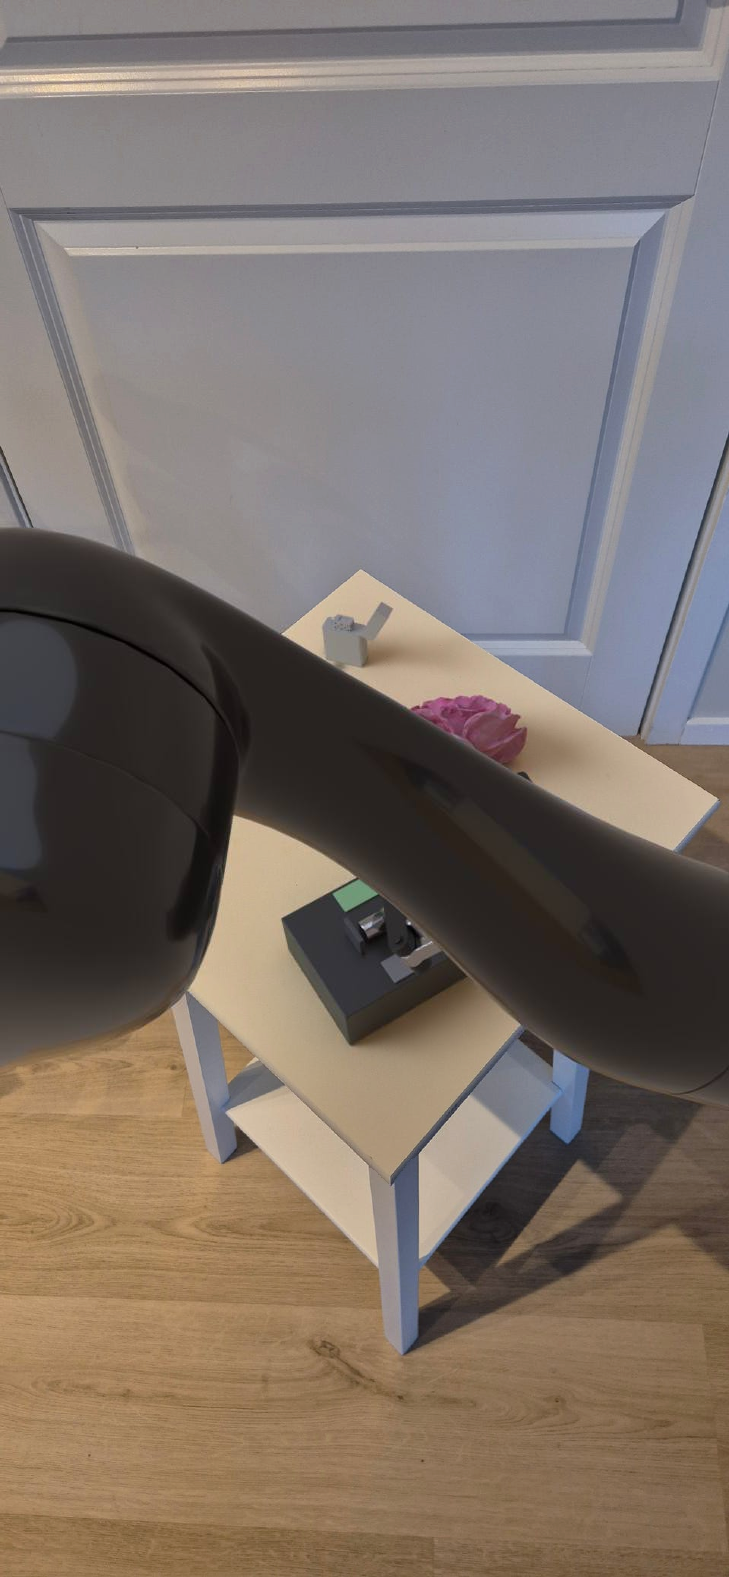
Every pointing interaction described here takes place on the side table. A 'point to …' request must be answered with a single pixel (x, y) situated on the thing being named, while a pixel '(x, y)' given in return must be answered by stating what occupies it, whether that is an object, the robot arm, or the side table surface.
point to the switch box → (359, 962)
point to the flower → (478, 724)
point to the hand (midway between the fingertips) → (376, 834)
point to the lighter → (352, 636)
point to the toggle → (372, 925)
